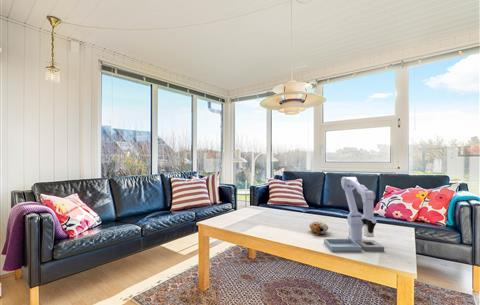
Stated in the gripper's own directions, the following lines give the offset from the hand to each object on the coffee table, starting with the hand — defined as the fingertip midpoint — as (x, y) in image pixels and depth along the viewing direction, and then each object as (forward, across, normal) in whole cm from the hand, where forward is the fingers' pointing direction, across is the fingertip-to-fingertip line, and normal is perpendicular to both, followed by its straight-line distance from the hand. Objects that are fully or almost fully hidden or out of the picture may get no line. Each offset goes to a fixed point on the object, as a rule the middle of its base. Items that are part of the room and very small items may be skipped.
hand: (368, 231), depth 151 cm
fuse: (+3, 0, 0) cm, 3 cm away
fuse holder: (+10, 0, 0) cm, 10 cm away
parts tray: (+10, 0, -17) cm, 20 cm away
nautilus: (+10, -28, -24) cm, 38 cm away
